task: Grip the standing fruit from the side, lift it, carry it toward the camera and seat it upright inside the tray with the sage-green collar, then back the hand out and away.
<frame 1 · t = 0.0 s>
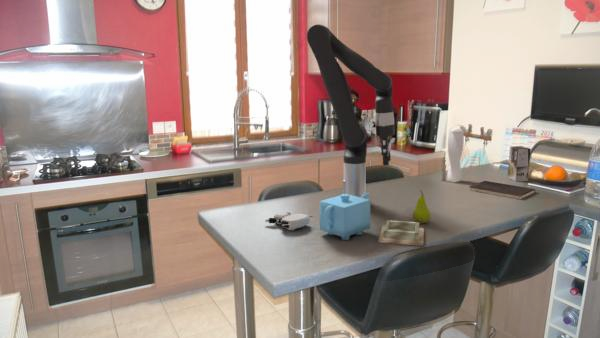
hand: (386, 163, 185), 17 cm above the breakfast bar, tool pointing down, fingers open, 8 cm apart
skyscraper: (453, 181, 224), on the breakfast bar
hardcover book: (501, 192, 203), on the breakfast bar
fruit: (421, 223, 163), on the breakfast bar
teapot: (348, 233, 155), on the breakfast bar
coffee box: (517, 179, 224), on the breakfast bar
tray: (401, 236, 150), on the breakfast bar
robot toy: (289, 227, 163), on the breakfast bar
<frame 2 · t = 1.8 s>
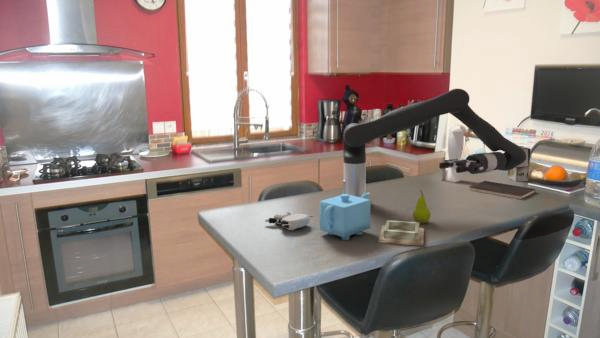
hand: (448, 167, 163), 19 cm above the breakfast bar, tool horizontal, fingers open, 8 cm apart
nothing on the breakfast bar moved.
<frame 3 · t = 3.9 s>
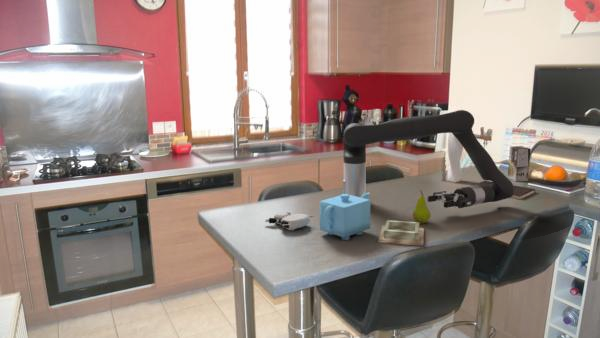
hand: (436, 201, 164), 7 cm above the breakfast bar, tool horizontal, fingers open, 8 cm apart
nothing on the breakfast bar moved.
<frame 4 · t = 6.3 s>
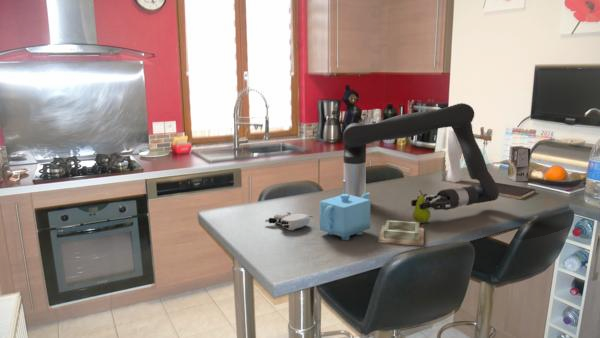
hand: (416, 204, 161), 7 cm above the breakfast bar, tool horizontal, fingers closed on fruit, 4 cm apart
fruit: (421, 222, 163), on the breakfast bar, touching gripper
everything else where it was.
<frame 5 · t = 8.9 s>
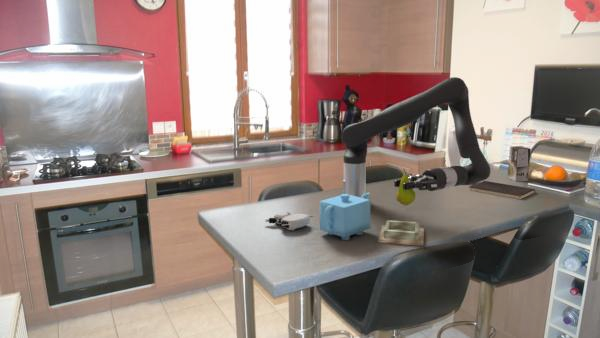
hand: (399, 185, 146), 18 cm above the breakfast bar, tool horizontal, fingers closed on fruit, 4 cm apart
fruit: (405, 205, 149), point 10 cm above the breakfast bar, touching gripper
everything else where it was.
when the fingers open (9 cm above the breakfast bar, at t = 11.4 s): fruit drops 1 cm, resting on tray.
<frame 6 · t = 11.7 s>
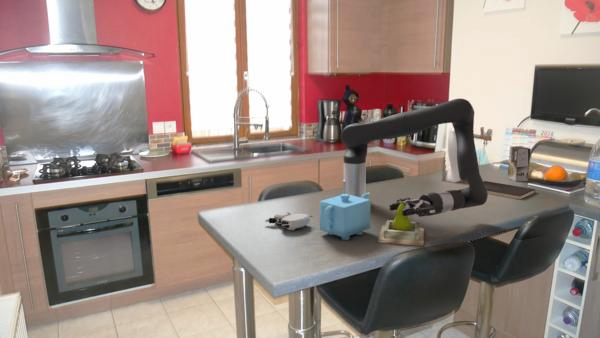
hand: (396, 210, 147), 10 cm above the breakfast bar, tool horizontal, fingers open, 6 cm apart
fruit: (401, 233, 150), point 1 cm above the breakfast bar, touching tray
everything else where it was.
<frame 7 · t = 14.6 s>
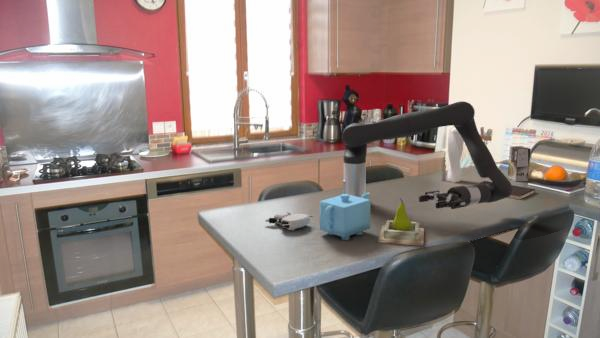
hand: (427, 202, 153), 10 cm above the breakfast bar, tool horizontal, fingers open, 8 cm apart
nothing on the breakfast bar moved.
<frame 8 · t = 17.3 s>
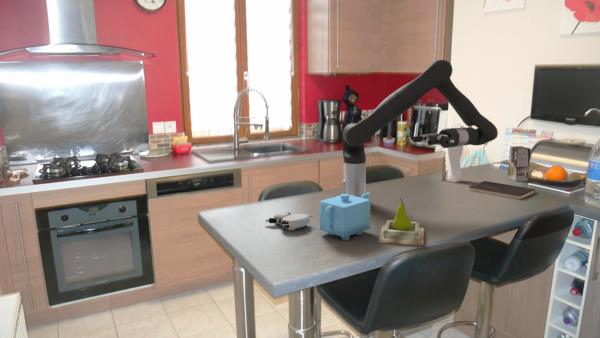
hand: (420, 140, 170), 28 cm above the breakfast bar, tool horizontal, fingers open, 8 cm apart
nothing on the breakfast bar moved.
at the end: fruit 0.4 cm off-centre on the tray, point 0.8 cm above the tray's base; fruit tilted 0°; the gripper is holding nothing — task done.
